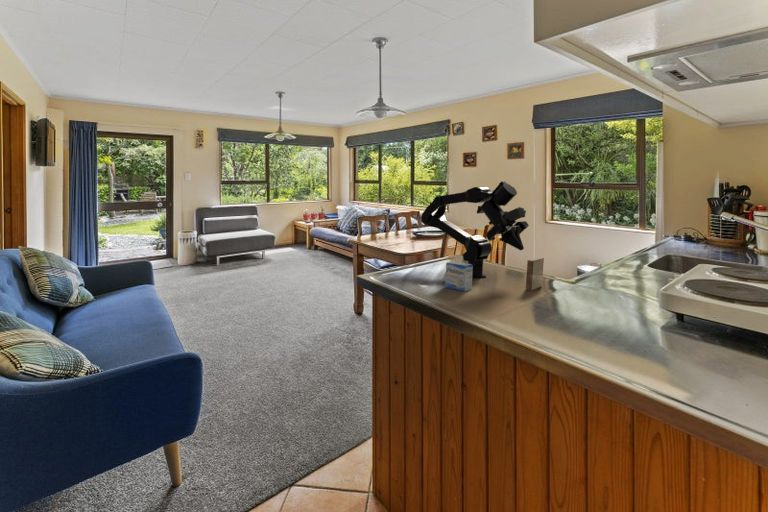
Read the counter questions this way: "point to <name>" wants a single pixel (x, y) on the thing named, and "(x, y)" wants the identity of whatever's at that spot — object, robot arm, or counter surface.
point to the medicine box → (458, 276)
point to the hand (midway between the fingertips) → (522, 249)
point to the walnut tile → (534, 273)
